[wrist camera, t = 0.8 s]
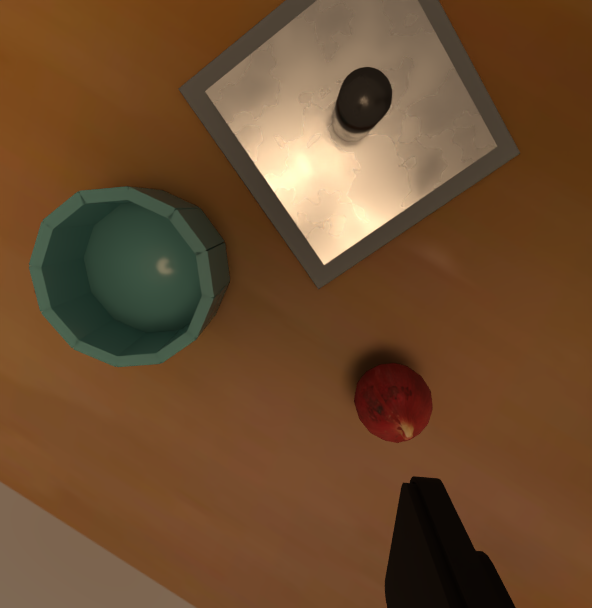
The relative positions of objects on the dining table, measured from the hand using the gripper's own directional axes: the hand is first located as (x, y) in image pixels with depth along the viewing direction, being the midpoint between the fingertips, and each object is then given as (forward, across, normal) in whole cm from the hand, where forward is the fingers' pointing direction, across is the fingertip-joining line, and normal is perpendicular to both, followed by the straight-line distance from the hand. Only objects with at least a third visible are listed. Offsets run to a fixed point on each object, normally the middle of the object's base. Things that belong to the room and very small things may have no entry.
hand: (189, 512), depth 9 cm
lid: (+24, -5, -13) cm, 28 cm away
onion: (+25, -10, +8) cm, 28 cm away
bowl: (+24, +10, -1) cm, 26 cm away
